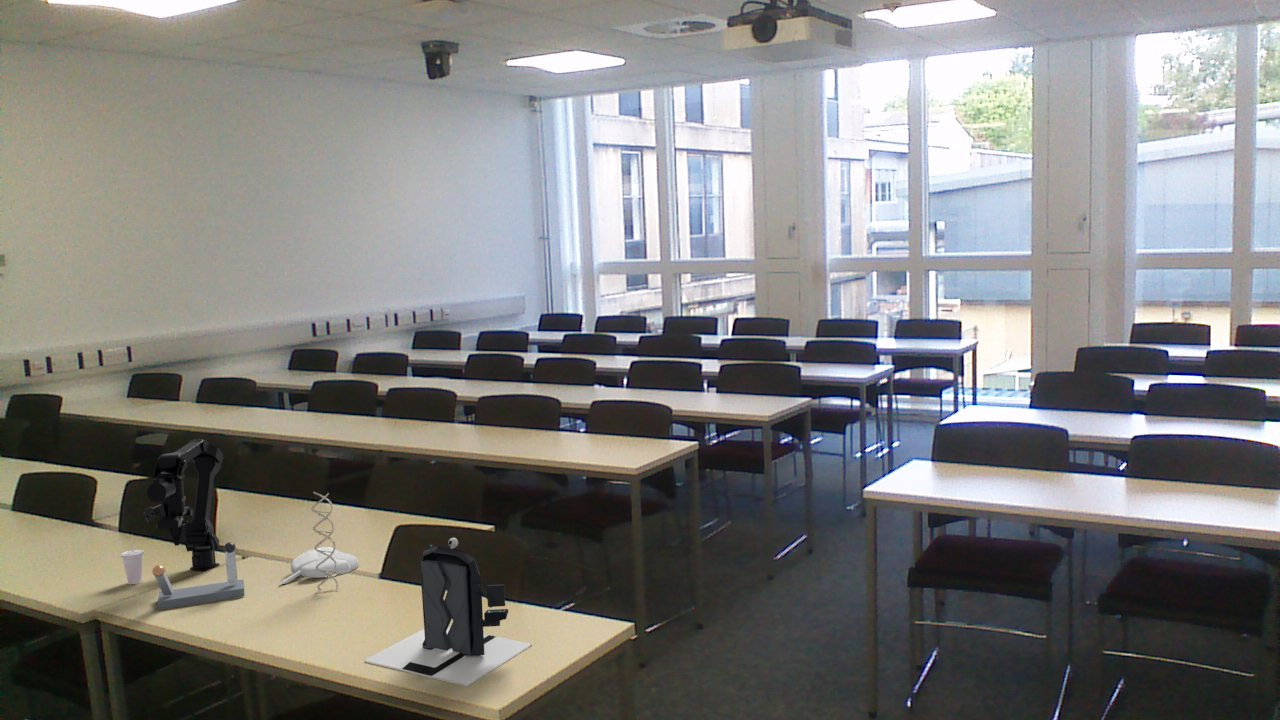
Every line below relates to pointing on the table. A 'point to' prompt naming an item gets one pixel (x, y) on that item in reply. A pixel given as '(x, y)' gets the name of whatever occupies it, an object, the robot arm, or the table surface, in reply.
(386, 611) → the table surface
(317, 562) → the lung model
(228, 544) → the beige grey bar
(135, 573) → the smoothie
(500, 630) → the table surface
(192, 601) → the switch board
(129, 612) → the table surface
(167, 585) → the copper knob rod
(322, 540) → the dna model
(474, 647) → the slab on white base
